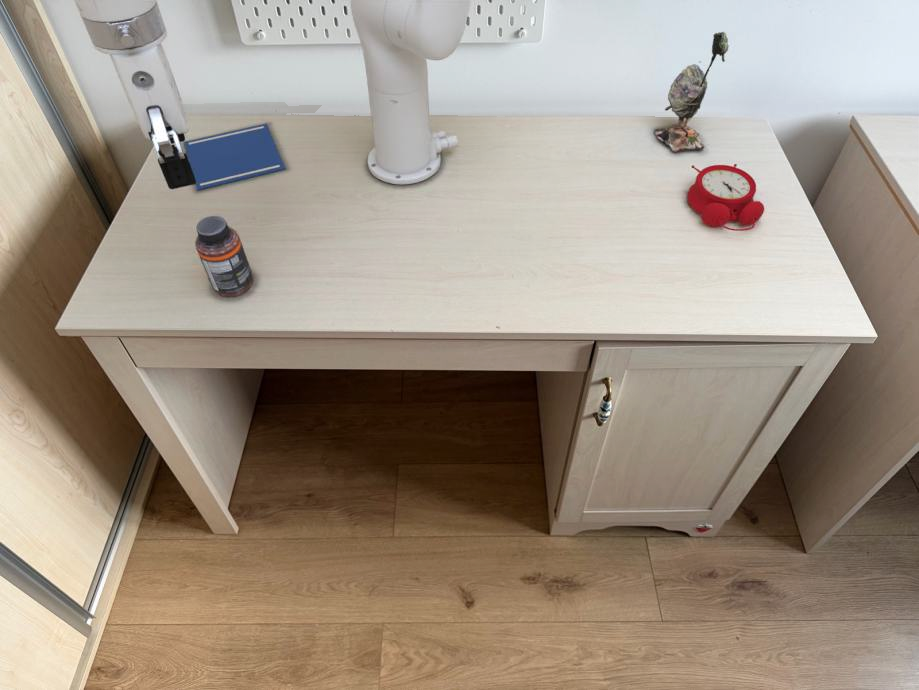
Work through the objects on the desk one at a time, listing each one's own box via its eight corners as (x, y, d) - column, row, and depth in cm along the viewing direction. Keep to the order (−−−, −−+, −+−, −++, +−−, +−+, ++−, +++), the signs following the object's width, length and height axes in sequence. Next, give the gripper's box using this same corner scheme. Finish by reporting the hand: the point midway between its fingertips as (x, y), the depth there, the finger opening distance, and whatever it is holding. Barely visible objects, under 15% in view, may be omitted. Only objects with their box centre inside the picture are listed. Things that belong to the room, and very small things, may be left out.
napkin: (266, 124, 125) (266, 123, 125) (285, 169, 116) (285, 167, 116) (184, 143, 122) (183, 141, 121) (197, 190, 113) (196, 189, 113)
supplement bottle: (221, 268, 101) (198, 208, 92) (260, 271, 100) (240, 211, 92) (206, 296, 97) (181, 237, 88) (246, 300, 97) (224, 241, 88)
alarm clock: (745, 159, 111) (784, 198, 99) (736, 194, 115) (773, 236, 103) (682, 161, 111) (714, 201, 99) (676, 196, 115) (706, 239, 103)
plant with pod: (692, 119, 125) (724, 9, 110) (706, 155, 118) (742, 43, 103) (649, 119, 125) (674, 10, 110) (660, 155, 118) (689, 43, 103)
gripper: (172, 55, 66) (219, 196, 79) (153, -14, 77) (198, 121, 90) (91, 69, 64) (153, 211, 78) (83, -3, 75) (139, 133, 88)
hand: (177, 163), depth 84 cm, fingers open, 9 cm apart
